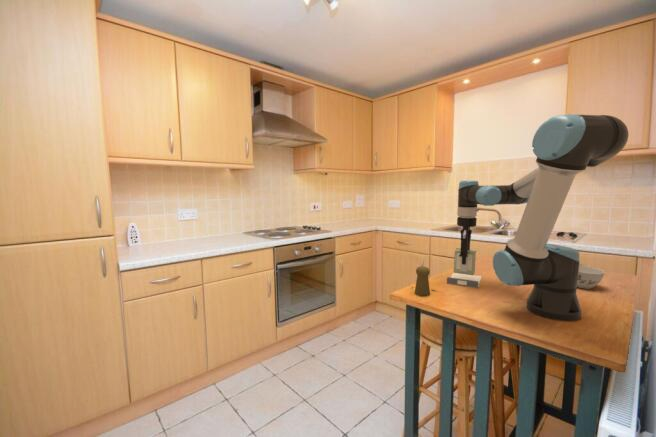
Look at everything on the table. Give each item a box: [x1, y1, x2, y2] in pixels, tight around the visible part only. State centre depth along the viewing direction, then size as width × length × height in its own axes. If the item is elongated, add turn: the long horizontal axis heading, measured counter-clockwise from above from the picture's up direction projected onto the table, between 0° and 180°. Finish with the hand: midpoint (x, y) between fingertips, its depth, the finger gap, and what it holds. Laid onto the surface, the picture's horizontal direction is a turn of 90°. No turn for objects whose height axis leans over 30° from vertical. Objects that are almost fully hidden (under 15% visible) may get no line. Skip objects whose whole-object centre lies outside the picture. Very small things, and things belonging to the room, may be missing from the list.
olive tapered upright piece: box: [414, 266, 431, 297], centre depth 122 cm, size 6×6×11 cm
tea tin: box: [453, 248, 477, 276], centre depth 132 cm, size 8×4×10 cm, turn 59°
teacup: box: [577, 264, 605, 290], centre depth 128 cm, size 15×12×8 cm
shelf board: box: [446, 272, 482, 289], centre depth 135 cm, size 18×12×4 cm, turn 149°
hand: (464, 269), depth 132 cm, fingers closed on tea tin, 4 cm apart
